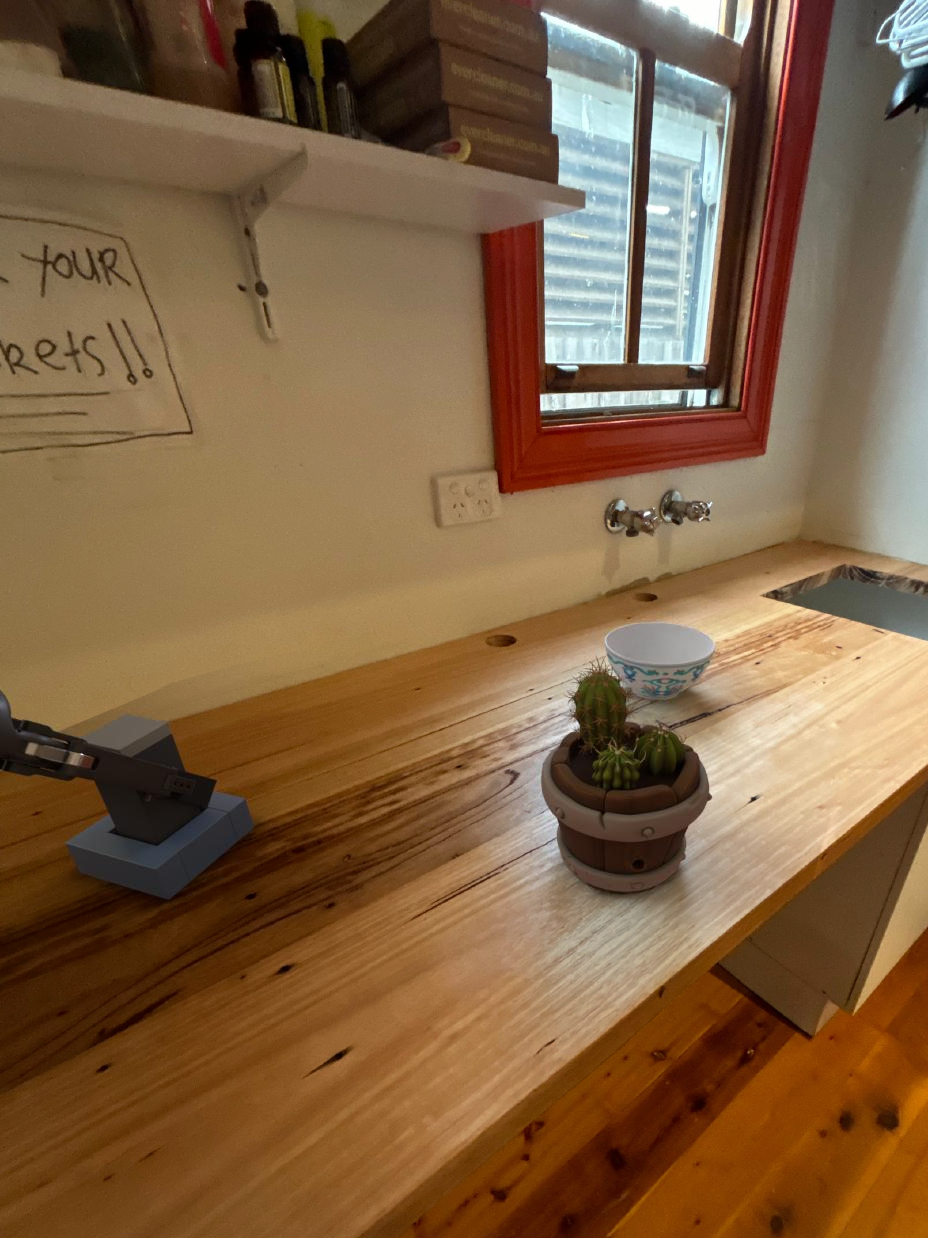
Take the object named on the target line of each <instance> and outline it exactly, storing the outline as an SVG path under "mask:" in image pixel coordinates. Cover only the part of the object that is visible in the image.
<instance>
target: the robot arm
mask: <svg viewBox="0 0 928 1238" xmlns="http://www.w3.org/2000/svg"><path fill="white" fill-rule="evenodd" d="M11 708H12V707H11V705H10V702H9V700H8V698H7V696H6V694H5V693H4V692H3V691H2V690H1V689H0V770H1V771H2V772H6V773H11V774H14V775H15V774H16V775H21V776H24V777H32V776H35V775H36V776H42V777H47V778H51V779H56V780H60V781H65V782H70V781H73V780H75V778H79V779H84V780H88V781H93V782H94V781H97V782H102V783H106V784H111V785H116V786H120V787H125V788H129V789H134V790H138V791H143V792H146V794H147V795H146V798H145V801H148V802H152V803H156V802H157V799H158V797H162V798H168V799H173V800H178V801H182V802H187V803H191V804H196V805H201V806H205V807H208V805H209V802H210V799H211V796H212V793H213V791H214V790H215V788H216V785H217V782H218V780H217V779H214V778H211V777H207V776H203V775H200V774H196V773H192V772H189V771H186V770H185V771H182V770H178V769H176V768H175V767H172V766H165V765H161V764H155V763H152V762H148V761H144V760H141V759H137V758H133V757H130V756H126V755H122V754H119V753H115V752H111V751H108V750H104V749H101V748H97V747H94V746H91V745H88V743H87V741H86V740H84V739H82V738H81V737H79V736H74V735H70V734H68V733H67V734H66V733H64V732H59V731H56V730H54V729H52V727H51V726H49V725H47V724H43V723H41V722H40V723H39V722H36V721H32V720H28V719H18V718H15V717H12V709H11Z"/></svg>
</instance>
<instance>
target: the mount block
mask: <svg viewBox="0 0 928 1238" xmlns="http://www.w3.org/2000/svg"><path fill="white" fill-rule="evenodd" d="M198 806H199V809H200V812H201V814H200V815H198V816H197V817H196V818H194V819H193V820H192V821H190V822H189V823H188V824H186V825H185V826H184V827H182V828H181V829H180V830H178V831H177V832H176V833H174V834H173V835H172V836H170V837H169V838H168V839H166V840H165V841H164V842H162V843H161V844H160V845H158V846H154V845H151V844H147V843H144V842H140V841H136V840H133V839H129V838H125V837H122V836H119V834H118V832H117V830H116V827H115V825H114V823H113V821H112V819H111V817H110V814H109V813H108V814H107V815H105V816H104V817H102V818H101V819H99V820H98V821H96V822H94V823H92V824H91V825H90V826H89V827H87V828H85V829H84V830H83V831H81V832H79V833H78V834H77V835H75V836H73V837H72V838H70V839H69V840H67V841H65V843H64V845H65V846H66V848H67V850H68V852H69V854H70V856H71V858H72V860H73V862H74V863H75V866H76V867H77V870H78V871H79V873H80V874H82V875H86V876H89V877H92V878H96V879H98V880H103V881H105V882H109V883H112V884H115V885H119V886H122V887H125V888H128V889H132V890H136V891H138V892H141V893H145V894H147V895H152V896H154V897H158V898H161V899H165V900H171V898H173V897H174V896H175V895H176V894H178V893H179V892H180V891H181V890H182V889H184V887H186V886H187V885H188V884H189V883H191V882H192V881H193V880H194V879H195V878H197V876H198V875H200V874H202V872H203V871H205V870H206V869H207V868H208V867H210V866H211V864H213V863H214V862H215V861H216V860H218V859H219V858H220V857H221V856H222V855H223V854H225V853H226V852H227V851H228V850H229V849H230V848H232V847H233V846H234V845H235V844H237V842H239V841H240V840H241V839H242V838H243V837H245V836H246V835H247V834H248V833H249V832H251V831H252V830H253V829H254V828H255V824H254V821H253V818H252V815H251V812H250V808H249V806H248V802H247V799H246V798H245V797H240V796H236V795H232V794H228V793H225V792H224V793H223V792H219V791H216V790H215V791H214V790H213V793H212V796H211V799H210V802H209V805H208V807H205V806H201V805H198Z"/></svg>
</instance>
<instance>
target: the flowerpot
mask: <svg viewBox="0 0 928 1238" xmlns="http://www.w3.org/2000/svg"><path fill="white" fill-rule="evenodd" d="M605 658H606V656H604V657H603V659H602V661H601V663H600V662H599V659H598V657H597V654H595V659H596V662H597V666H596V665H594V661H590V660H588V663H590V664H591V667H589V668H588V667H586V668H583V670H584V671H583V670H582V669H581V670H580V669H579V671H578V673H579V674H580V675H579V677H574V676H572V678H573V679H574V680H575V681H574V682H573V681H572V682H570V684H577V685H578V686H576V689H577V690H576V691H574V690H570V689H569V690H566V692H567V694H568V695H569V696H568V695H566V694H562V695H563V696H564V697H566V698H567V699H569V700H568V701H567V706H569V704H570V702H571V703H572V705H571V707H573V710H572V709H571V707H569V712H568V714H567V717H569V718H568V720H567V722H569V721H571V720H572V719H573V723H574V724H576V722H577V723H578V725H579V726H578V725H576V726H575V725H573V727H574V728H572V730H573V731H572V732H569V733H567V734H566V735H565V736H564V737H563V738H562V740H561V741H560V744H559V745H557V746H555V748H553V749H552V750H551V751H550V752H549V753H548V754H547V756H546V757H545V759H544V761H543V763H542V768H541V774H540V775H541V776H540V783H541V784H540V787H541V792H542V796H543V800H544V802H545V804H546V806H547V807H548V808H547V809H548V810H549V811H550V812H551V814H552V815H553V816H554V817H555V818H556V820H557V823H558V826H557V829H556V842H557V846H558V850H559V853H560V856H561V858H562V861H563V863H564V865H565V866H566V868H567V869H568V871H569V872H570V873H571V874H573V875H574V876H575V877H576V878H577V879H578V880H580V881H582V882H584V883H585V884H587V886H588V887H591V888H593V889H595V890H599V891H602V890H606V891H607V892H608V893H610V894H614V895H635V894H639V893H644V892H647V891H650V890H652V889H654V888H655V887H656V886H658V885H660V884H662V883H663V882H666V880H668V879H669V878H670V877H672V876H673V874H674V873H676V871H677V869H678V868H679V866H680V864H681V862H683V861H685V860H686V858H687V855H686V851H687V838H686V837H687V836H686V833H687V831H688V830H689V829H688V828H689V827H690V825H692V823H694V822H695V821H696V820H697V819H698V818H699V817H700V816H701V815H702V814H703V812H704V810H705V809H706V806H707V804H708V802H709V801H711V800H713V795H712V794H711V793H710V781H709V776H708V773H707V770H706V767H705V765H704V764H703V762H702V761H701V759H700V756H699V754H698V753H697V752H696V751H695V750H694V748H693V747H692V746H690V745H688V744H686V743H685V741H686V739H687V735H686V734H685V733H683V734H684V735H685V736H684V739H683V738H682V736H681V735H680V731H678V730H676V729H674V728H675V726H673V727H672V728H670V729H669V728H668V727H667V726H666V725H667V724H670V723H671V724H673V722H672V721H671V722H670V721H667V722H665V723H663V721H662V722H660V721H659V720H658V719H657V718H655V717H654V720H656V721H657V724H656V725H654V724H648V723H647V724H644V725H643V726H641V725H640V724H639V723H637V722H634V721H628V720H630V719H632V716H634V714H638V713H639V711H637V712H636V709H635V708H636V707H637V706H636V705H635V706H634V704H633V703H632V702H631V703H630V699H632V700H633V701H634V702H636V699H634V696H633V695H634V693H632V692H631V691H632V689H631V687H630V688H629V689H627V687H625V688H624V685H621V684H622V681H621V680H623V679H621V678H622V677H619V676H618V677H617V675H613V672H614V671H613V669H612V667H611V666H610V664H609V665H607V664H606V661H605ZM603 664H604V667H602V666H603ZM609 667H611V668H609ZM586 673H587V674H586ZM609 673H610V674H609ZM618 675H619V673H618ZM626 676H628V675H626ZM623 677H624V676H623ZM619 678H620V679H619ZM625 679H628V678H625ZM624 682H625V681H624ZM626 683H627V682H626ZM627 703H628V705H627ZM574 706H575V707H574ZM633 712H634V713H633ZM563 716H564V717H566V714H565V715H563ZM633 719H634V720H636V718H635V717H633ZM663 727H665V729H664V728H663Z"/></svg>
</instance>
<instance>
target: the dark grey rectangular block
mask: <svg viewBox="0 0 928 1238" xmlns="http://www.w3.org/2000/svg"><path fill="white" fill-rule="evenodd" d="M80 738H82V739H84V740H86V741H87V743H88V745H91V746H94V747H97V748H101V749H104V750H108V751H111V752H115V753H119V754H122V755H126V756H130V757H133V758H137V759H141V760H144V761H148V762H152V763H155V764H161V765H165V766H172V767H175V768H176V769H178V770H182V771H186V768H185V765H184V763H183V760H182V757H181V754H180V752H179V749H178V746H177V744H176V741H175V738H174V734H173V733H172V730H171V726H170V724H169V722H168V721H164V720H160V719H159V720H158V719H153V718H148V717H143V716H139V715H133V714H128V713H125V714H124V715H121V716H119V717H118V718H115V719H114V720H112V721H110V722H107V723H106V724H104V725H102V726H100V727H98V728H97V729H94V730H93V731H90V732H89V733H87V734H85V735H83V736H81V737H80ZM93 782H94V784H95V786H96V788H97V791H98V793H99V795H100V797H101V799H102V801H103V803H104V806H105V808H106V810H107V812H108V814H110V817H111V819H112V821H113V823H114V825H115V827H116V830H117V832H118V834H119V836H122V837H125V838H129V839H133V840H136V841H140V842H144V843H147V844H151V845H154V846H158V845H160V844H161V843H162V842H164V841H165V840H166V839H168V838H169V837H170V836H172V835H173V834H174V833H176V832H177V831H178V830H180V829H181V828H182V827H184V826H185V825H186V824H188V823H189V822H190V821H192V820H193V819H194V818H196V817H197V816H198V815H200V814H201V812H200V809H199V806H198V805H196V804H191V803H187V802H182V801H178V800H173V799H168V798H162V797H158V799H157V802H156V803H152V802H148V801H145V798H146V795H147V794H146V792H143V791H138V790H134V789H129V788H125V787H120V786H116V785H111V784H106V783H102V782H97V781H93Z"/></svg>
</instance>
